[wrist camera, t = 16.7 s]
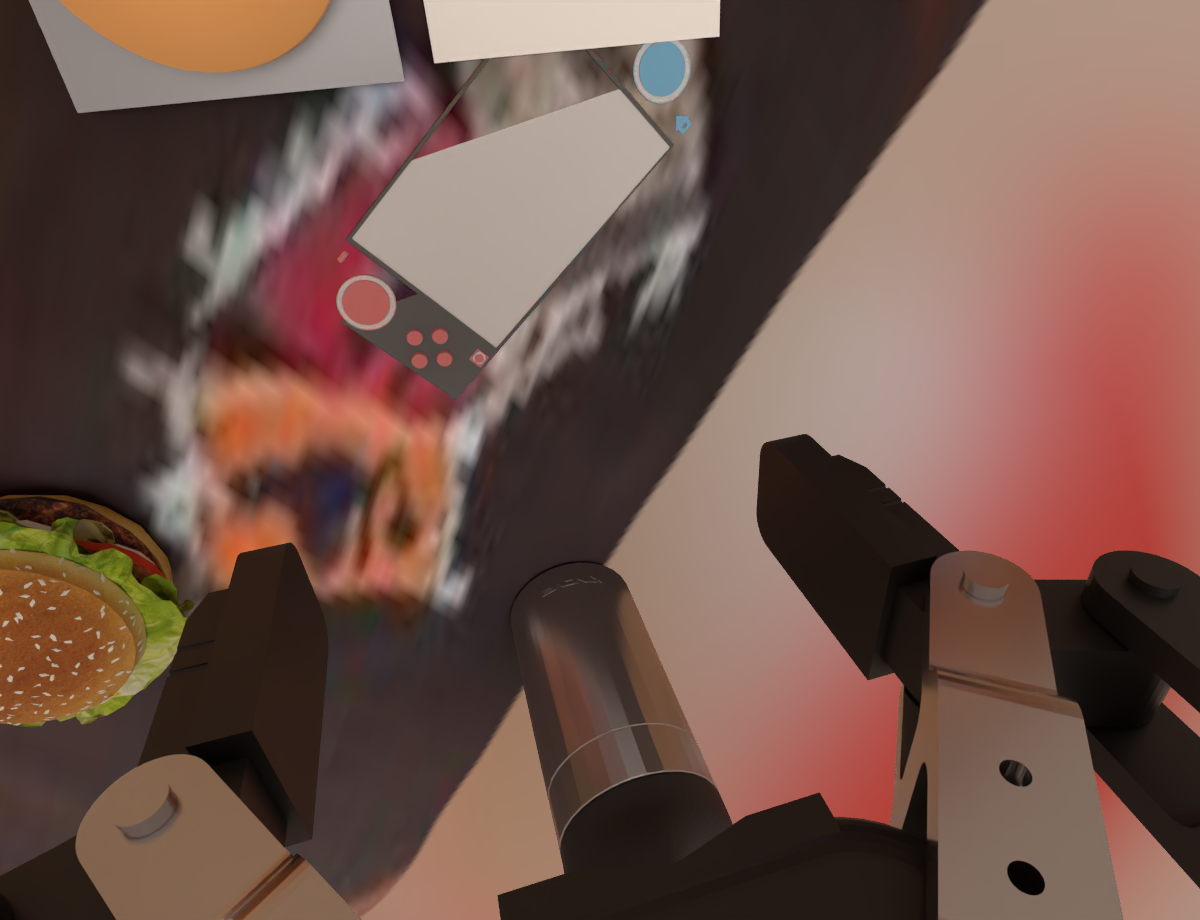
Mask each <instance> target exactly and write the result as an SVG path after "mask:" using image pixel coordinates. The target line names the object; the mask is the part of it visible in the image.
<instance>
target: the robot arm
mask: <svg viewBox="0 0 1200 920" xmlns="http://www.w3.org/2000/svg"><path fill="white" fill-rule="evenodd" d="M757 522H758V527H759V530H760V533H761V536H762V538H763V540H764V542H765V544H766V545H767V547H768V548H769V549H770V551H771V552H772V553H773V555H774V556H775V557H776V559H777V560H778V561H779V563H780V564H781V565H782V567H783V568H784V569H785V571H786V572H787V573H788V575H789V576H790V577H791V579H792V580H793V581H794V583H795V584H796V585H797V587H798V588H799V589H800V591H801V592H802V593H803V595H804V596H805V597H806V599H807V600H808V601H809V603H810V604H811V605H812V607H813V608H814V609H815V611H816V612H817V613H818V615H819V616H820V617H821V618H822V620H823V621H824V623H825V624H826V625H827V627H828V628H829V629H830V631H831V632H832V633H833V635H834V636H835V637H836V639H837V640H838V641H839V642H840V644H841V645H842V646H843V648H844V649H845V650H846V652H847V653H848V654H849V656H850V657H851V658H852V660H853V661H854V662H855V664H856V665H857V666H858V668H859V669H860V670H861V672H862V673H863V674H864V676H865V677H866V678H867V680H870V679H874V678H877V677H881V676H884V675H888V674H891V673H895V674H896V675H897V677H898V678H899V679H900V680H901V682H902V687H901V691H900V696H899V711H898V730H897V748H896V767H895V785H894V798H893V808H892V814H891V820H890V825H886V824H884V823H879V822H875V821H870V820H865V819H858V818H847V817H833V815H832V813H831V811H830V810H829V808H828V806H827V805H826V803H825V801H824V799H823V798H822V796H821V794H820V793H817V794H814V795H810V796H808V797H804V798H801V799H798V800H795V801H792V802H788V803H786V804H782V805H779V806H776V807H773V808H770V809H767V810H763V811H760V812H757V813H754V814H751V815H748V816H745V817H744V818H742V819H741V820H739V821H738V822H736V823H735V824H733V825H732V821H731V819H730V816H729V814H728V812H727V809H726V807H725V805H724V803H723V801H722V798H721V796H720V794H719V792H718V789H717V787H716V785H715V782H714V780H713V778H712V776H711V773H710V771H709V769H708V767H707V765H706V762H705V760H704V758H703V756H702V753H701V751H700V749H699V747H698V745H697V743H696V740H695V739H694V736H693V734H692V731H691V729H690V727H689V725H688V722H687V720H686V718H685V716H684V713H683V711H682V709H681V707H680V704H679V702H678V700H677V698H676V695H675V693H674V691H673V689H672V686H671V684H670V682H669V680H668V677H667V675H666V673H665V670H664V668H663V666H662V664H661V661H660V660H659V657H658V655H657V653H656V650H655V648H654V646H653V643H652V641H651V639H650V637H649V634H648V632H647V630H646V628H645V626H644V623H643V620H642V618H641V616H640V614H639V611H638V609H637V607H636V605H635V603H634V600H633V598H632V596H631V593H630V591H629V589H628V587H627V584H626V583H625V582H624V580H623V579H622V577H621V576H620V575H619V574H617V573H616V572H615V571H614V570H612V569H610V568H608V567H605V566H603V565H599V564H594V563H572V564H565V565H562V566H559V567H556V568H553V569H550V570H548V571H547V572H545V573H543V574H541V575H539V576H538V577H536V578H535V579H534V580H532V581H531V582H529V583H528V585H527V586H526V587H525V588H524V589H523V590H522V591H521V592H520V593H519V595H518V597H517V598H516V600H515V601H514V604H513V607H512V610H511V617H510V623H511V628H512V633H513V637H514V642H515V647H516V652H517V656H518V661H519V667H520V672H521V676H522V681H523V685H524V690H525V695H526V699H527V704H528V708H529V713H530V717H531V722H532V727H533V731H534V736H535V740H536V745H537V750H538V754H539V759H540V763H541V768H542V773H543V777H544V781H545V786H546V791H547V796H548V800H549V803H550V808H551V813H552V817H553V822H554V826H555V831H556V835H557V840H558V845H559V849H560V854H561V858H562V863H563V868H564V873H565V874H563V875H560V876H557V877H553V878H551V879H547V880H544V881H541V882H538V883H535V884H532V885H529V886H525V887H522V888H519V889H516V890H513V891H510V892H507V893H503V894H500V895H498V902H499V909H500V917H501V920H1123V915H1122V910H1121V905H1120V900H1119V895H1118V890H1117V885H1116V880H1115V875H1114V870H1113V865H1112V860H1111V855H1110V850H1109V845H1108V840H1107V835H1106V830H1105V825H1104V819H1103V814H1102V809H1101V804H1100V799H1099V794H1098V789H1097V784H1096V779H1095V775H1094V770H1095V772H1096V773H1097V774H1098V775H1099V776H1100V777H1101V778H1102V779H1103V781H1105V783H1106V784H1107V785H1108V786H1109V787H1110V788H1111V789H1112V791H1113V792H1114V793H1115V794H1116V795H1117V796H1118V797H1119V798H1120V800H1121V801H1122V802H1123V803H1124V804H1125V805H1126V806H1127V807H1128V809H1129V810H1130V811H1131V812H1132V813H1133V814H1134V815H1135V816H1136V818H1138V820H1139V821H1140V822H1141V823H1142V824H1143V825H1144V826H1145V828H1146V829H1147V830H1148V831H1149V832H1150V833H1151V834H1152V835H1153V837H1154V838H1155V839H1156V840H1157V841H1158V842H1159V843H1160V844H1161V846H1163V848H1164V849H1165V850H1166V851H1167V852H1168V853H1169V854H1170V855H1171V857H1172V858H1173V859H1174V860H1175V861H1176V862H1177V863H1178V865H1179V866H1180V867H1181V868H1182V869H1183V870H1184V871H1185V872H1186V874H1187V875H1188V876H1189V877H1190V878H1191V879H1192V880H1193V881H1194V882H1195V884H1196V885H1197V886H1198V887H1199V888H1200V737H1199V736H1198V735H1197V734H1196V733H1194V732H1193V731H1192V730H1191V729H1190V728H1189V727H1188V726H1187V725H1186V724H1185V723H1184V722H1183V721H1181V720H1180V719H1179V718H1178V717H1177V716H1176V715H1175V714H1174V713H1173V712H1172V711H1171V710H1169V709H1168V708H1167V707H1166V706H1165V705H1164V704H1163V703H1162V701H1163V700H1164V698H1165V696H1166V694H1167V692H1168V691H1169V689H1170V687H1171V688H1173V689H1174V690H1175V691H1176V692H1177V693H1178V694H1179V695H1180V696H1182V697H1183V698H1184V699H1185V700H1186V701H1187V702H1188V703H1189V704H1191V705H1192V706H1193V707H1194V708H1195V709H1196V710H1197V711H1198V712H1199V713H1200V577H1199V576H1198V575H1197V574H1195V573H1194V572H1192V571H1191V570H1189V569H1188V568H1186V567H1184V566H1182V565H1180V564H1178V563H1176V562H1173V561H1171V560H1169V559H1166V558H1163V557H1160V556H1157V555H1153V554H1149V553H1144V552H1138V551H1114V552H1110V553H1107V554H1104V555H1102V556H1100V557H1099V558H1098V559H1097V560H1096V561H1095V563H1094V565H1093V567H1092V569H1091V572H1090V574H1089V577H1088V579H1087V580H1033V578H1032V577H1031V576H1030V575H1029V574H1028V573H1027V572H1025V571H1024V570H1023V569H1022V568H1020V567H1019V566H1017V565H1015V564H1014V563H1012V562H1010V561H1008V560H1006V559H1003V558H1001V557H998V556H995V555H992V554H988V553H984V552H977V551H959V550H958V549H957V548H956V547H955V546H954V545H952V544H951V543H950V542H949V541H948V540H947V539H946V538H944V537H943V536H942V535H941V534H940V533H939V532H938V531H937V530H936V529H935V528H933V527H932V526H931V525H930V524H929V523H928V522H927V521H926V520H924V519H923V518H922V517H921V516H920V515H919V514H918V513H917V512H915V511H914V510H913V509H912V508H911V507H910V506H909V505H908V504H907V503H905V502H903V503H902V502H901V498H900V497H899V496H898V495H897V494H895V493H894V492H893V491H892V490H891V489H890V488H886V487H885V484H884V483H883V482H882V481H881V480H880V479H878V478H877V477H876V476H875V475H874V474H873V473H872V472H871V471H869V469H867V468H866V467H864V466H862V465H860V464H858V463H856V462H853V461H851V460H849V459H847V458H845V457H843V456H840V455H836V456H831V455H830V454H829V453H828V452H827V451H826V450H824V449H823V448H822V447H821V446H820V445H819V444H818V443H817V442H816V441H815V440H814V439H813V438H812V437H810V436H809V435H807V434H802V435H798V436H793V437H789V438H784V439H779V440H774V441H770V442H766V443H764V444H763V446H762V449H761V452H760V465H759V481H758V497H757ZM177 650H178V653H177V654H175V655H174V658H173V661H172V664H171V667H170V670H169V672H170V677H167V680H166V683H165V686H164V689H163V692H162V695H161V698H160V701H159V704H158V707H157V710H156V713H155V716H154V719H153V722H152V725H151V728H150V731H149V734H148V737H147V740H146V743H145V746H144V749H143V752H142V755H141V758H140V761H139V764H138V767H137V768H135V769H133V770H131V771H130V772H128V773H127V774H125V775H124V776H122V777H121V778H119V779H118V780H117V781H116V782H114V783H113V784H112V785H111V786H110V787H109V788H108V789H107V790H106V791H104V792H103V793H102V794H101V795H100V797H99V798H98V799H97V800H96V801H95V802H94V804H93V805H92V806H91V808H90V809H89V811H88V812H87V814H86V815H85V817H84V819H83V821H82V823H81V825H80V828H79V830H78V833H77V835H76V836H74V837H72V838H71V839H69V840H67V841H66V842H64V843H62V844H60V845H59V846H57V847H55V848H53V849H51V850H49V851H47V852H45V853H43V854H41V855H40V856H38V857H36V858H34V859H32V860H30V861H28V862H26V863H24V864H22V865H20V866H19V867H17V868H15V869H13V870H11V871H9V872H7V873H5V874H3V875H1V876H0V920H361V918H360V917H359V916H358V915H357V914H356V913H355V912H354V911H353V910H352V909H351V908H350V907H349V906H348V904H347V903H346V902H345V901H344V900H343V899H342V898H341V897H340V896H339V895H338V894H337V893H336V892H335V891H334V889H333V888H332V887H331V886H330V885H329V884H328V883H327V882H326V881H325V880H324V879H323V878H322V877H321V876H320V874H319V873H318V872H317V871H316V870H315V869H314V868H313V867H312V866H311V865H310V864H309V863H308V862H307V861H306V860H305V859H304V858H302V857H301V856H300V855H298V854H296V855H295V856H294V857H293V856H292V855H291V854H290V853H289V852H288V851H287V850H286V849H285V847H286V846H290V845H293V844H297V843H300V842H304V841H307V840H311V839H312V835H313V824H314V812H315V800H316V788H317V777H318V765H319V753H320V741H321V730H322V718H323V706H324V695H325V683H326V671H327V659H328V635H327V628H326V623H325V619H324V616H323V613H322V610H321V607H320V605H319V602H318V600H317V597H316V595H315V593H314V590H313V588H312V585H311V583H310V580H309V578H308V575H307V573H306V570H305V568H304V565H303V563H302V560H301V558H300V555H299V553H298V551H297V549H296V547H295V546H294V545H293V544H292V543H286V544H281V545H276V546H272V547H267V548H262V549H258V550H253V551H248V552H244V553H240V554H239V555H238V557H237V560H236V563H235V567H234V571H233V574H232V578H231V582H230V585H229V589H225V590H220V591H216V592H211V593H208V595H207V596H206V597H205V598H204V599H203V601H202V602H201V603H200V604H199V605H198V607H197V608H196V609H195V610H194V611H193V613H192V614H191V615H190V616H189V618H188V619H187V620H186V622H185V625H184V628H183V631H182V634H181V637H180V640H179V643H178V646H177Z"/></svg>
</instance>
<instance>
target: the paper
mask: <svg viewBox="0 0 1200 920" xmlns="http://www.w3.org/2000/svg"><path fill="white" fill-rule="evenodd" d="M423 2H424V8H425V14H426V19H427V25H428V31H429V37H430V42H431V48H432V54H433V59H434V63H442V62H453V61H464V60H474V59H485V58H496V57H506V56H517V55H527V54H538V53H549V52H559V51H570V50H581V49H591V48H602V47H613V46H623V45H634V44H644V43H655V42H666V41H676V40H687V39H698V38H708V37H719V26H720V0H423Z"/></svg>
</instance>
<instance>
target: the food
mask: <svg viewBox="0 0 1200 920" xmlns="http://www.w3.org/2000/svg"><path fill="white" fill-rule="evenodd" d="M194 604H195V603H193V602H192V601H189V600H185V602H184V603H182V604H181V605H180V606H179V604H178V597H177V589H176V588H175V586H174V585H173V579H172V573H171V568H170V564H169V561H168V557H167V556H166V555H165V554H164V553H163V552H162V550H161V549H160V548H159V547H158V546H157V544H156V543H155V542H154V541H153V540H152V539H151V537H150V536H149V535H148V534H147V533H146V532H145V530H144V529H143V528H142V527H141V526H140V525H138V524H136V523H135V522H133V521H131V520H129V519H127V518H125V517H124V516H122V515H120V514H118V513H116V512H114V511H113V510H111V509H109V508H107V507H105V506H101V505H98V504H94V503H91V502H88V501H84V500H81V499H77V498H74V497H70V496H66V495H7V496H4V497H0V724H13V725H18V726H23V727H29V728H33V727H38V726H42V725H43V724H44V723H45V722H46V721H50V720H54V719H57V720H58V721H60V722H61V721H64V720H67V719H70V718H72V717H75V716H76V717H77V719H78V720H79V721H80V723H81V724H88V723H91V722H93V721H94V720H96V719H97V718H99V717H102V716H106V715H108V714H110V713H112V712H114V711H115V710H117V709H119V708H121V707H122V706H124V705H126V703H127V702H128V701H129V700H130V699H131V698H132V696H133V695H134V694H136V693H138V692H139V691H141V690H143V689H145V688H146V687H147V686H148V685H149V684H150V683H151V682H152V681H153V680H154V679H155V678H157V677H158V676H159V675H160V674H161V673H162V672H163V671H164V670H165V669H166V668H167V666H168V665H169V664H170V663H171V662H172V660H173V658H174V655H175V654H176V651H177V646H178V643H179V640H180V637H181V634H182V631H183V628H184V625H185V622H186V620H187V619H188V618H186V617H184V615H183V612H182V610H188V611H189V610H190V609H192V608H193V606H194Z"/></svg>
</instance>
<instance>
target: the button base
mask: <svg viewBox="0 0 1200 920" xmlns="http://www.w3.org/2000/svg"><path fill="white" fill-rule="evenodd" d="M29 2H30V4H31V6H32V9H33V11H34V13H35V16H36V18H37V20H38V23H39V25H40V27H41V29H42V32H43V34H44V36H45V39H46V41H47V43H48V46H49V48H50V50H51V52H52V55H53V57H54V59H55V62H56V64H57V66H58V69H59V71H60V73H61V76H62V78H63V80H64V82H65V85H66V87H67V89H68V92H69V94H70V96H71V99H72V101H73V103H74V105H75V108H76V110H77V112H78V113H84V112H94V111H104V110H114V109H124V108H135V107H145V106H155V105H165V104H176V103H186V102H196V101H206V100H216V99H227V98H237V97H247V96H257V95H267V94H278V93H288V92H298V91H308V90H319V89H329V88H339V87H349V86H359V85H370V84H380V83H390V82H400V81H405V80H404V74H403V69H402V64H401V59H400V54H399V49H398V44H397V39H396V34H395V29H394V24H393V19H392V14H391V9H390V4H389V0H332V1H331V3H330V5H329V7H328V9H327V11H326V13H325V15H324V17H323V18H322V20H321V21H320V22H319V24H318V25H317V27H316V28H315V30H314V31H313V32H312V33H311V34H310V35H309V36H308V37H307V38H306V39H305V40H304V41H303V42H302V43H301V44H299V45H298V46H297V47H295V48H294V49H293V50H291V51H290V52H289V53H287V54H285V55H283V56H281V57H279V58H277V59H276V60H274V61H271V62H268V63H265V64H262V65H259V66H256V67H253V68H249V69H244V70H238V71H232V72H217V73H205V72H197V71H188V70H182V69H178V68H174V67H170V66H166V65H162V64H160V63H157V62H154V61H152V60H149V59H146V58H143V57H141V56H139V55H137V54H135V53H133V52H131V51H129V50H127V49H125V48H123V47H120V46H118V45H117V44H115V43H114V42H112V41H110V40H109V39H107V38H106V37H104V36H102V35H101V34H99V33H98V32H96V31H95V30H93V29H92V28H91V27H90V26H88V25H87V24H86V23H84V22H83V21H82V20H80V19H79V18H78V17H77V16H75V15H74V14H73V13H72V12H71V11H70V10H69V9H68V8H66V7H65V6H64V5H63V4H62V3H61V2H60V1H59V0H29Z"/></svg>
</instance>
